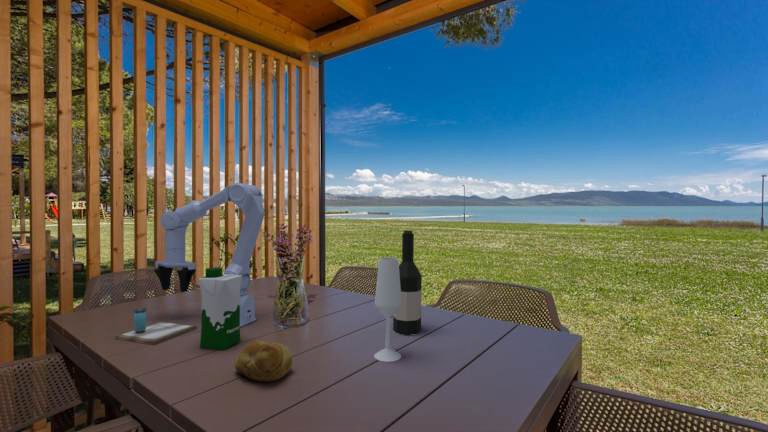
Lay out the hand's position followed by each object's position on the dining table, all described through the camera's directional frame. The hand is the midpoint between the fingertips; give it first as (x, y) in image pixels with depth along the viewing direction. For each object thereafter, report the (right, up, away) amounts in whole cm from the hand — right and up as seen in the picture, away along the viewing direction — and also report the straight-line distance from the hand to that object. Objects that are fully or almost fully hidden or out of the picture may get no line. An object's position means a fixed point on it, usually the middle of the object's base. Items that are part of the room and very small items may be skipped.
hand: (175, 290), depth 116 cm
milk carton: (+25, -10, -21) cm, 34 cm away
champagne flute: (+69, -11, -28) cm, 75 cm away
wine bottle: (+75, -11, -9) cm, 76 cm away
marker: (-1, -9, -16) cm, 18 cm away
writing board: (+3, -10, -14) cm, 17 cm away
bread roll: (+42, -11, -38) cm, 57 cm away
